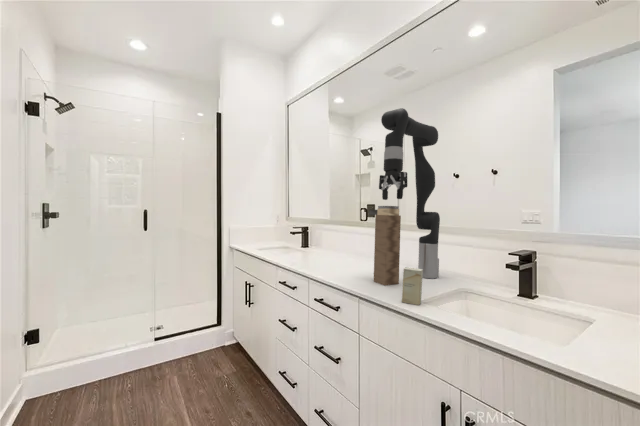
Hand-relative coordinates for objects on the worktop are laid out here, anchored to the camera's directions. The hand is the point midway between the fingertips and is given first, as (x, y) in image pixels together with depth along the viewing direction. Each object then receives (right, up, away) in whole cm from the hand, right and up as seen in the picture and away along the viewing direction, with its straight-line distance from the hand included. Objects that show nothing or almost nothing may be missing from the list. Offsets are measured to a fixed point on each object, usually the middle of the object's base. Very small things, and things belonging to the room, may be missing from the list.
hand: (391, 199), depth 117 cm
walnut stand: (+1, -38, +16) cm, 41 cm away
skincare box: (+4, -38, -13) cm, 40 cm away
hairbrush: (0, -6, +20) cm, 21 cm away
